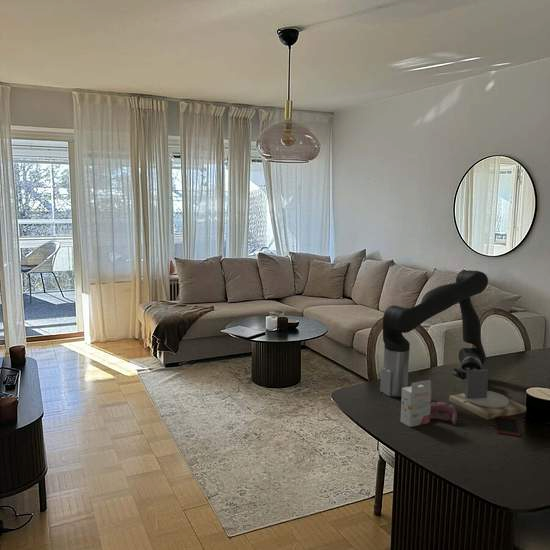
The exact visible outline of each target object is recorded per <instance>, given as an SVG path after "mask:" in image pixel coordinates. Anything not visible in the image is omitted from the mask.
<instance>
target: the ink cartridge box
mask: <svg viewBox="0 0 550 550" xmlns="http://www.w3.org/2000/svg"><path fill="white" fill-rule="evenodd" d="M400 400H401V402H400V403H401V405H400V423H402V424H404V425H405V426H407V427H409V428H411V427H417V426H422V425H425V424H429V423H430V422H431V417H430V406H431V403H432V380H431V379H428V380H421V381H416V382H412V383H411V385H410V386H407V387H405V388H402V396H401V399H400Z"/></svg>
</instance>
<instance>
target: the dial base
mask: <svg viewBox="0 0 550 550" xmlns="http://www.w3.org/2000/svg"><path fill="white" fill-rule="evenodd" d="M487 391H489V389H487ZM448 401H449V402H451V403H453V404H455V405H457V406H458V407H461V408H463V409H465V410H467V411H469V412H470V413H472V414H475V415H477V416H479V417H481V418H482V419H484V420H487V421H488V420H494V417H497V416H505V417H510V416H514V415H519V414H524V412H525V411H526V412H527V406H525V405H523V404H521V403H520V402H516V401H514V400H512V399H509V404H508V406H506V407H502V408H490V407H484V406H479V405H476V404H474V403H471V402H470V401H468V400H467V398H465V392H463V393H459V394H452V395H451V394H449V399H448ZM526 412H525V413H526Z"/></svg>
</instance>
